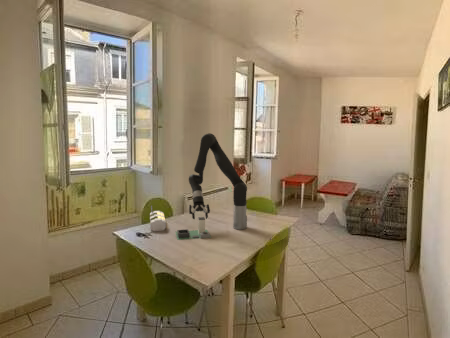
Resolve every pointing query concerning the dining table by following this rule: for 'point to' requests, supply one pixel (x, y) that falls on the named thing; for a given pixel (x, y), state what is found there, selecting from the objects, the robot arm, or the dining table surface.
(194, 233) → the board
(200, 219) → the plug
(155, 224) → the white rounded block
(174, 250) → the dining table surface
